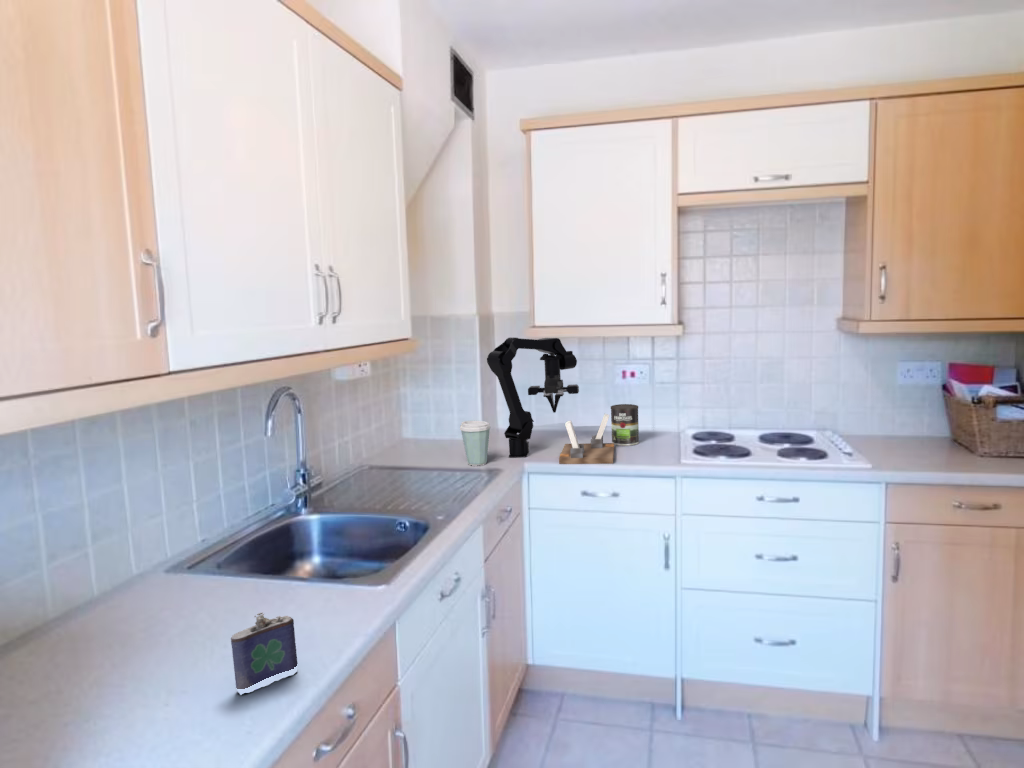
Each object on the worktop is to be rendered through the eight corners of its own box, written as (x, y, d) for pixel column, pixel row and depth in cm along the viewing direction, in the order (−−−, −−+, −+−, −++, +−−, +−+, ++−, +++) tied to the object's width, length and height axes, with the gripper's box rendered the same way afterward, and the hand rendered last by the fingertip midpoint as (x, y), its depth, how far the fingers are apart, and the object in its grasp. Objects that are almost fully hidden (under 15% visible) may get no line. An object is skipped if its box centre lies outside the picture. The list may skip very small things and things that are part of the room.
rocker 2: (592, 445, 234) (603, 414, 232) (593, 442, 238) (603, 413, 236) (598, 447, 234) (609, 417, 232) (599, 444, 238) (610, 415, 235)
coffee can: (637, 446, 240) (636, 408, 239) (609, 445, 244) (608, 408, 242) (641, 440, 250) (640, 403, 248) (614, 439, 253) (613, 403, 252)
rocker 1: (574, 456, 221) (564, 424, 220) (575, 454, 225) (565, 422, 224) (581, 455, 221) (571, 422, 220) (582, 452, 225) (572, 420, 224)
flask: (239, 698, 95) (231, 628, 94) (233, 689, 98) (225, 622, 96) (301, 673, 101) (294, 607, 100) (294, 665, 103) (287, 601, 102)
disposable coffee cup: (488, 458, 233) (485, 417, 231) (496, 465, 223) (494, 422, 221) (459, 462, 230) (456, 420, 228) (466, 469, 220) (463, 425, 218)
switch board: (559, 464, 221) (558, 449, 220) (565, 449, 242) (564, 435, 241) (613, 463, 217) (612, 448, 217) (614, 448, 239) (613, 435, 238)
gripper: (524, 374, 238) (526, 416, 240) (575, 372, 235) (577, 415, 236) (529, 371, 249) (531, 411, 251) (578, 369, 245) (579, 410, 247)
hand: (554, 412), depth 246 cm, fingers closed
